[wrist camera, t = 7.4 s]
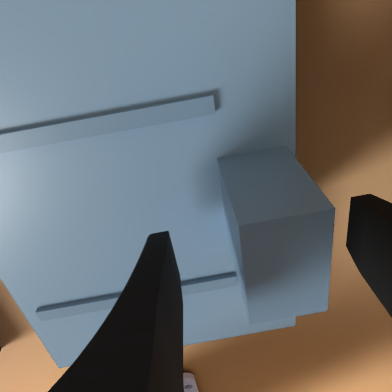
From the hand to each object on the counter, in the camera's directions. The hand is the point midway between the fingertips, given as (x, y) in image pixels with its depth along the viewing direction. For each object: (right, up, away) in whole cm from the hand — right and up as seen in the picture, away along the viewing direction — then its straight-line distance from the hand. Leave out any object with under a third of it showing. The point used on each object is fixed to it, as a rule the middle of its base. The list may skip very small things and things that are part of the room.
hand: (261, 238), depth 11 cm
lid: (-4, +1, +3) cm, 5 cm away
